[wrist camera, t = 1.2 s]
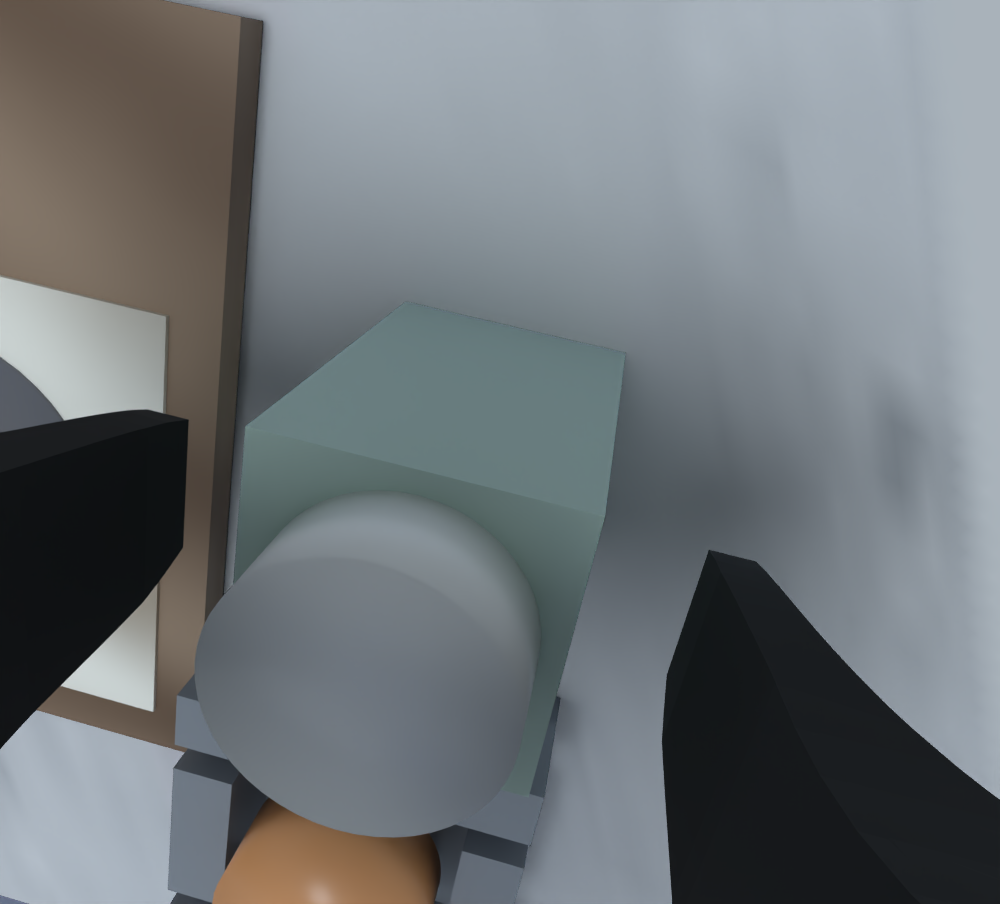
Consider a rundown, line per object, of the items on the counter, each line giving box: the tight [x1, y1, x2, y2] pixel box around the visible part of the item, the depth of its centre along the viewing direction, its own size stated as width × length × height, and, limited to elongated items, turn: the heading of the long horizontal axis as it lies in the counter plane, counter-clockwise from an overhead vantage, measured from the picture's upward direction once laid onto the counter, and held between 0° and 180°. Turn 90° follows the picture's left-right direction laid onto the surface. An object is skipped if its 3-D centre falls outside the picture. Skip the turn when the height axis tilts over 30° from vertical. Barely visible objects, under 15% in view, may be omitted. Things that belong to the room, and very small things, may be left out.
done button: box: [212, 798, 441, 904], centre depth 17 cm, size 4×4×2 cm
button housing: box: [168, 674, 560, 904], centre depth 18 cm, size 7×7×3 cm
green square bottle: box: [195, 302, 626, 838], centre depth 12 cm, size 4×4×8 cm
